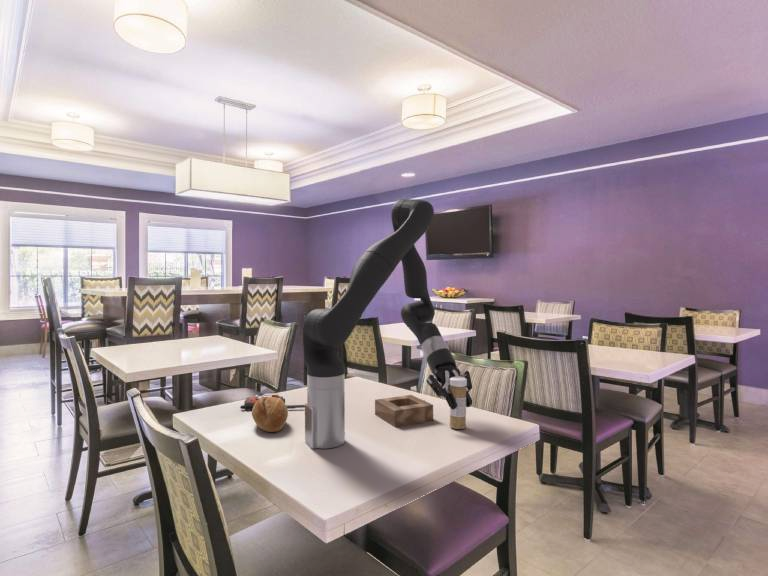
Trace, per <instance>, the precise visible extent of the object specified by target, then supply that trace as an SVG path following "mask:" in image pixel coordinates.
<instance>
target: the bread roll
mask: <svg viewBox="0 0 768 576" xmlns="http://www.w3.org/2000/svg"><path fill="white" fill-rule="evenodd" d="M267 397H268V398H267ZM251 416H252V419H253V421H254V423H255V424H256V426H257V427H258V428H260V429H261V430H262V431H265V432H270V433H276V432H278V431H280V430H281V429H282V428H283V427H284V426H285V424H286V422H287V419H288V416H289V411H288V409H287V407H286V402H285V403H284V402H283V401H282V400H281V399H280V398H276V397H272V396H264V398H260V399H259V400H257V401H256V403H255V404H254V406H253V409H252V410H251Z"/></svg>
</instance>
